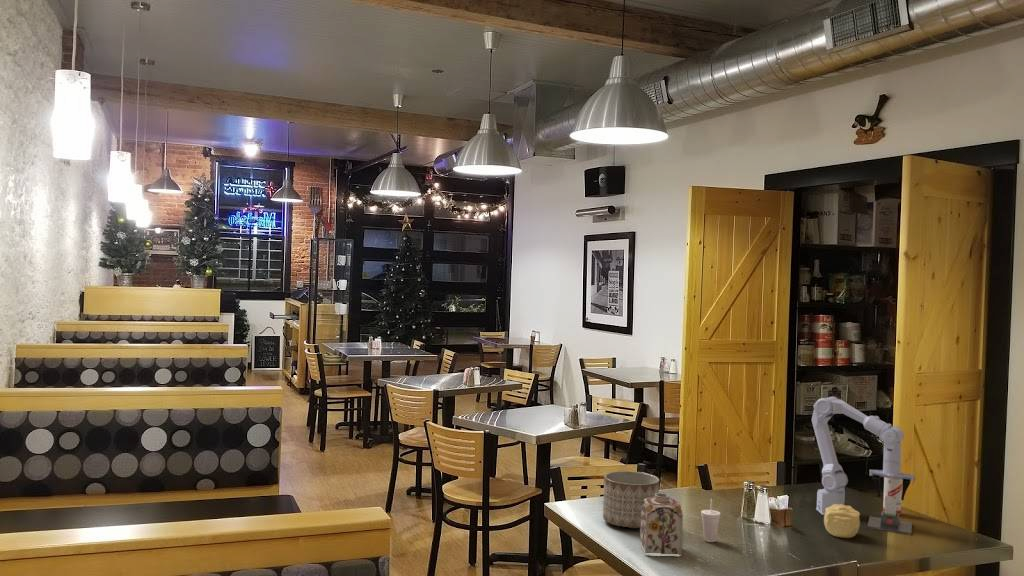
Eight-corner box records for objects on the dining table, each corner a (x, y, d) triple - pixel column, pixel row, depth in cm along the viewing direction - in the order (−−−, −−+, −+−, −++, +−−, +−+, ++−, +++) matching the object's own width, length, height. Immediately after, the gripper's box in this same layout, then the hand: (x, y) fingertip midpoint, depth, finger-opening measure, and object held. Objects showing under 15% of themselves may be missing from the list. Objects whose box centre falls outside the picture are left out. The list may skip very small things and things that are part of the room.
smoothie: (720, 539, 258) (721, 498, 258) (719, 545, 252) (720, 503, 252) (700, 537, 260) (702, 495, 260) (699, 542, 254) (700, 500, 254)
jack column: (884, 516, 278) (884, 497, 278) (884, 514, 281) (885, 495, 281) (895, 518, 276) (896, 499, 276) (896, 515, 279) (896, 497, 279)
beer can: (904, 516, 292) (905, 474, 292) (887, 515, 292) (888, 474, 292) (896, 511, 298) (897, 470, 298) (879, 511, 298) (881, 470, 298)
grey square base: (867, 528, 276) (867, 515, 276) (869, 518, 288) (870, 506, 288) (911, 535, 269) (911, 522, 269) (911, 524, 282) (912, 512, 282)
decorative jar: (639, 543, 251) (641, 489, 251) (675, 545, 251) (677, 490, 251) (644, 556, 239) (646, 499, 239) (682, 558, 239) (684, 500, 239)
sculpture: (824, 537, 263) (825, 506, 263) (822, 528, 275) (823, 497, 275) (860, 542, 259) (861, 511, 259) (857, 532, 271) (858, 502, 271)
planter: (655, 535, 260) (656, 486, 260) (598, 528, 266) (600, 481, 265) (660, 519, 279) (661, 473, 279) (607, 513, 284) (608, 468, 284)
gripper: (869, 459, 279) (868, 497, 279) (914, 465, 272) (913, 503, 272) (870, 456, 285) (869, 492, 285) (914, 461, 278) (913, 499, 278)
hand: (890, 497), depth 279 cm, fingers open, 7 cm apart
